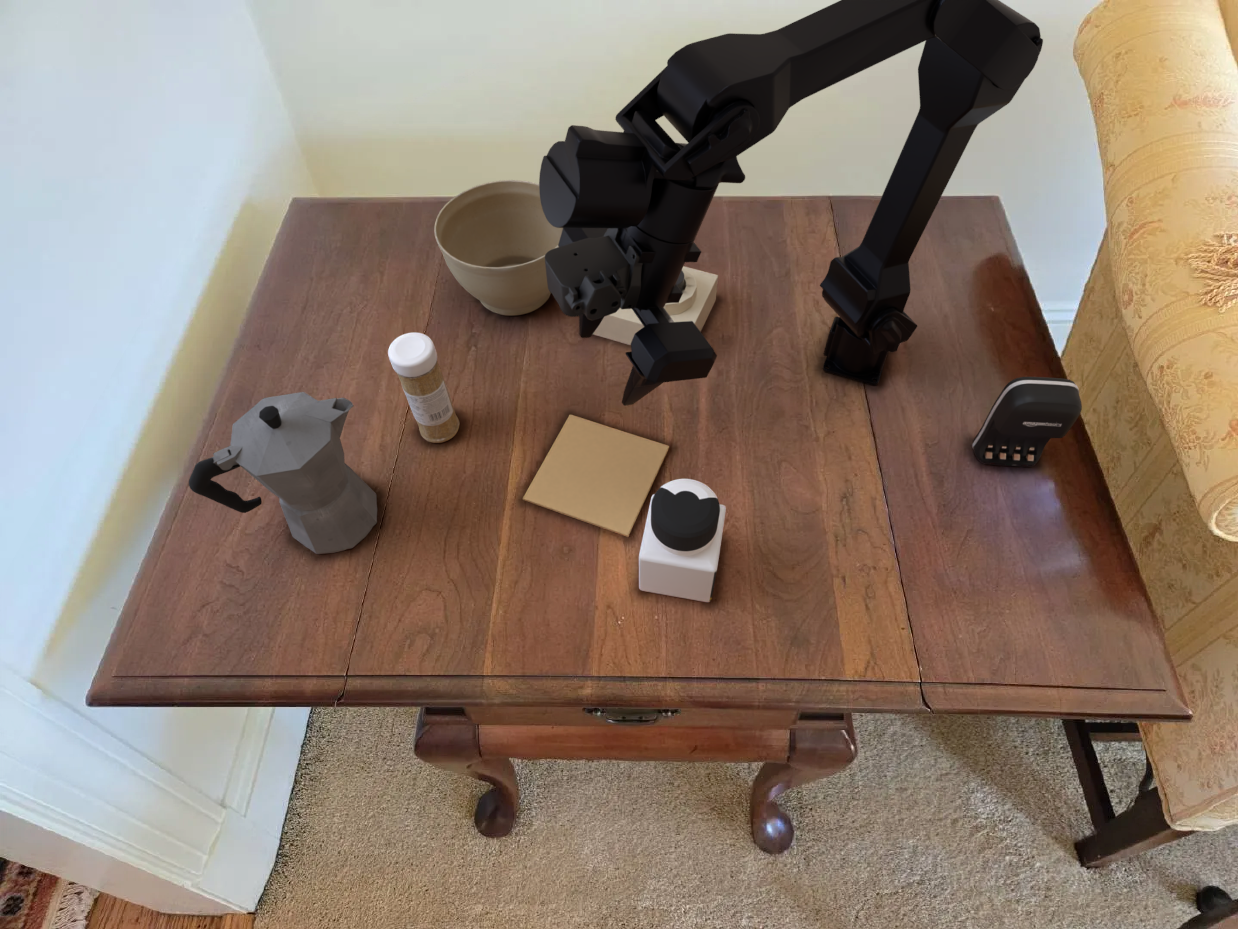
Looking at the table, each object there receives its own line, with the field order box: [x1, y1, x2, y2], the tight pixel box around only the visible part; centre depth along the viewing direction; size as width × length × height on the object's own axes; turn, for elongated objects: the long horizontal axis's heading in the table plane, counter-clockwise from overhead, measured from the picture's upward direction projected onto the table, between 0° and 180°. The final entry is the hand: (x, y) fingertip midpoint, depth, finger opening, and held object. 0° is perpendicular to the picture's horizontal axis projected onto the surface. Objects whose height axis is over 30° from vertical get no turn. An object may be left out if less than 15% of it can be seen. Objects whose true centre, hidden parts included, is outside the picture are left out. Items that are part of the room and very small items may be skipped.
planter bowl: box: [433, 179, 563, 317], centre depth 95 cm, size 16×16×11 cm
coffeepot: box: [188, 391, 378, 555], centre depth 74 cm, size 15×9×18 cm, turn 123°
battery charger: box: [971, 376, 1083, 468], centre depth 79 cm, size 7×4×11 cm, turn 84°
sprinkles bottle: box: [387, 331, 460, 444], centre depth 82 cm, size 5×5×13 cm
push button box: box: [592, 265, 719, 346], centre depth 94 cm, size 13×11×6 cm
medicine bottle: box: [638, 478, 727, 603], centre depth 72 cm, size 7×7×12 cm
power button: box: [676, 270, 684, 291], centre depth 91 cm, size 4×4×2 cm
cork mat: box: [522, 414, 670, 538], centre depth 83 cm, size 12×12×1 cm
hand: (605, 369), depth 72 cm, fingers open, 9 cm apart
